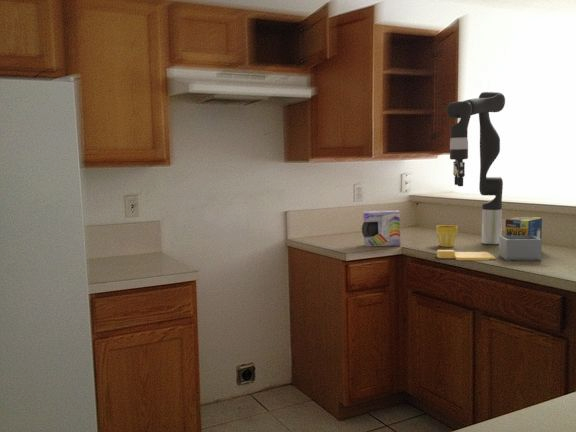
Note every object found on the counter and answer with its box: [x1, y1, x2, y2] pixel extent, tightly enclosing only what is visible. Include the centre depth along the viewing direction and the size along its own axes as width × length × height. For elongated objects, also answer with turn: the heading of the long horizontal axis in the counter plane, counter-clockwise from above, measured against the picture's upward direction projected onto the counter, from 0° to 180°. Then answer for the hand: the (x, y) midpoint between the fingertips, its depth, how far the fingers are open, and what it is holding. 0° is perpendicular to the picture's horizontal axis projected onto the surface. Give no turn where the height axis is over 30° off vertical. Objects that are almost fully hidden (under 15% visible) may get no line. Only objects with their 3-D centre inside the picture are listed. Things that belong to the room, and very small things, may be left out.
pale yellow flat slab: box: [436, 249, 497, 261], centre depth 242 cm, size 14×23×3 cm, turn 84°
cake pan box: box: [361, 209, 402, 247], centre depth 278 cm, size 19×5×18 cm, turn 82°
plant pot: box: [435, 224, 459, 248], centre depth 273 cm, size 10×10×10 cm
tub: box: [498, 235, 543, 261], centre depth 236 cm, size 12×14×9 cm
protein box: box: [504, 215, 543, 239], centre depth 250 cm, size 10×15×16 cm
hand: (458, 185), depth 242 cm, fingers open, 8 cm apart
